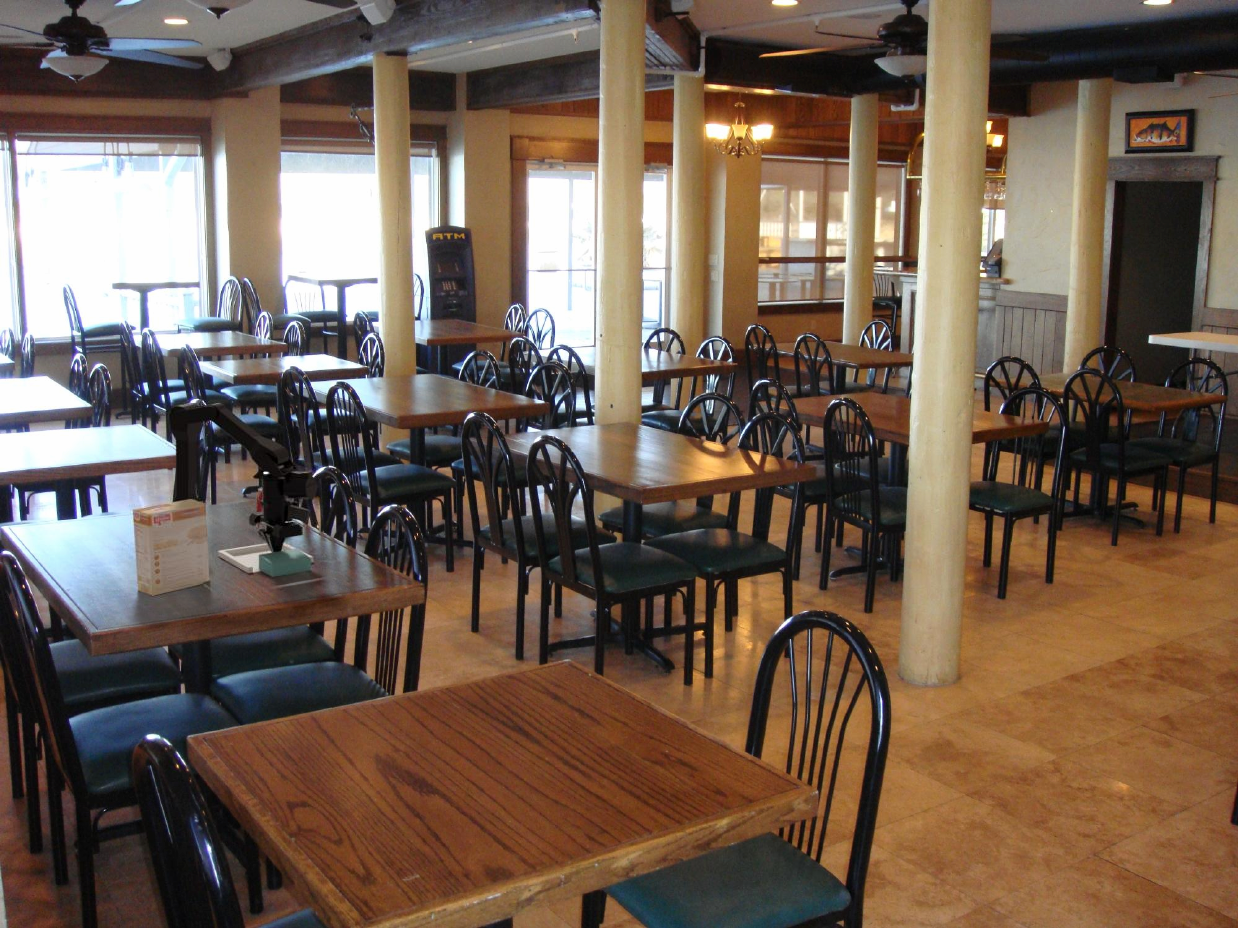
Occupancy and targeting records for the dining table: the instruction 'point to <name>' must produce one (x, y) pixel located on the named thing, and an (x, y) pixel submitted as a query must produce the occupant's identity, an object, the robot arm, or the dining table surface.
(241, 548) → the tray
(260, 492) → the soda can
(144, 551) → the coffeecake box
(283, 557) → the teal rectangular block
